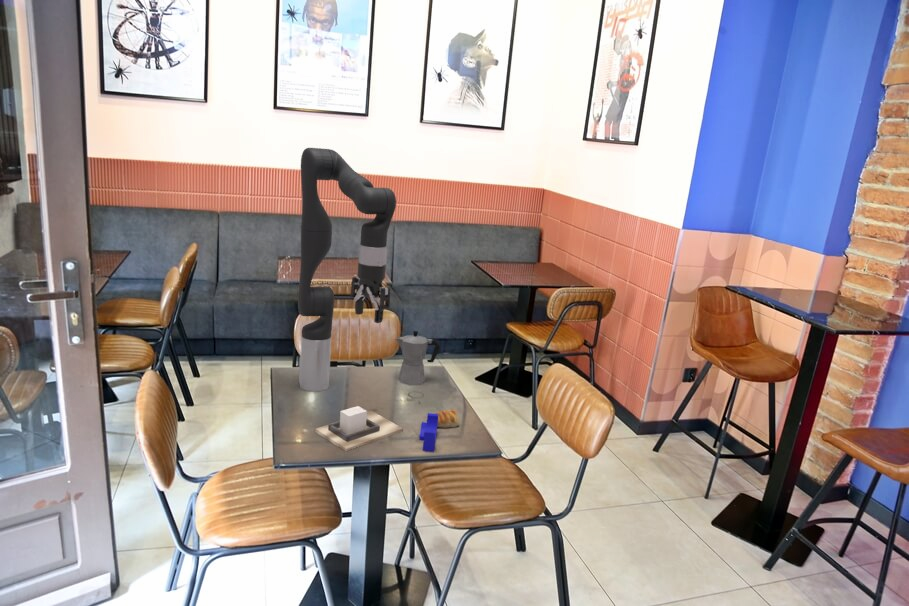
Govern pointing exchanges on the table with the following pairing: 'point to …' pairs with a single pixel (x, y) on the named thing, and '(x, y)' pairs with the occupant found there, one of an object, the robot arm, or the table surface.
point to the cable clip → (429, 432)
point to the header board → (359, 432)
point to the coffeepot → (415, 357)
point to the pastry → (447, 418)
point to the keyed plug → (353, 420)
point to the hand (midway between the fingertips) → (368, 318)
